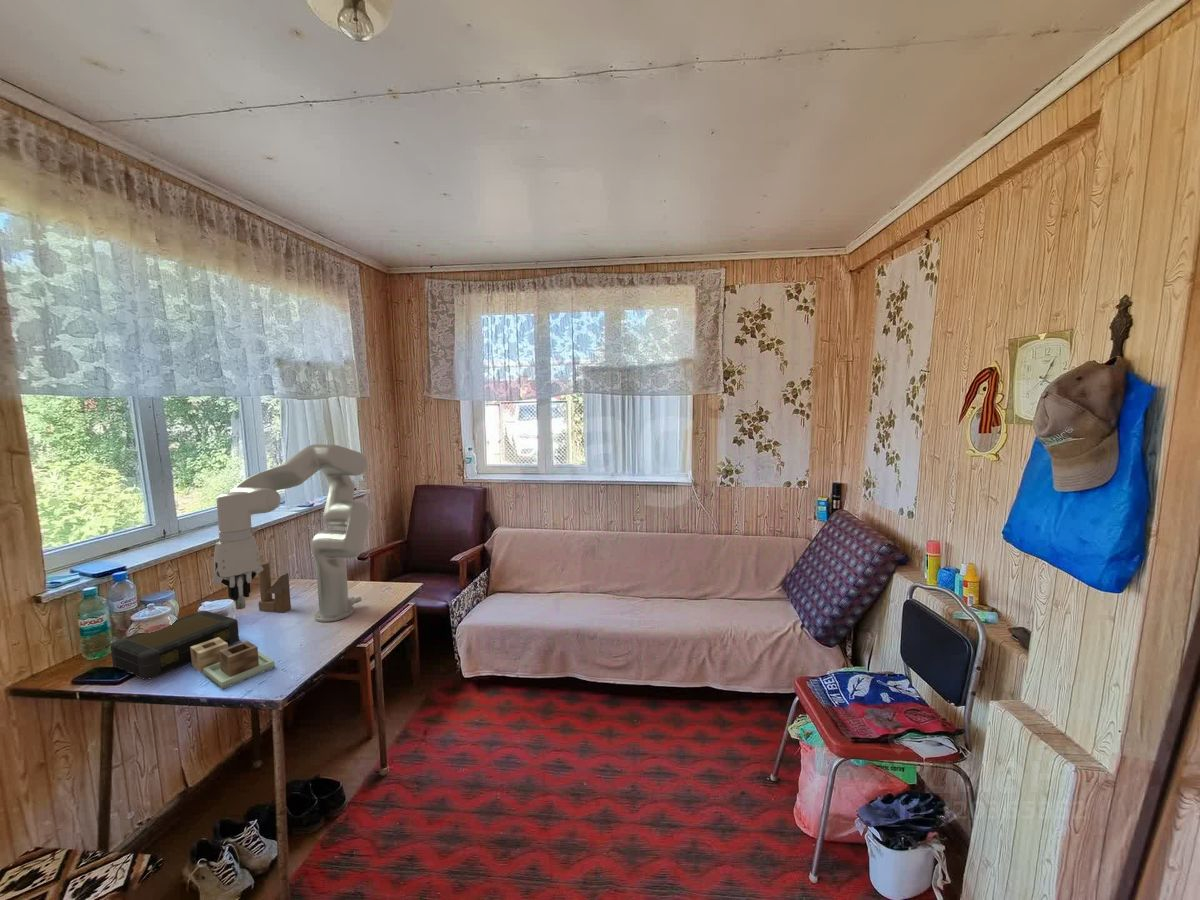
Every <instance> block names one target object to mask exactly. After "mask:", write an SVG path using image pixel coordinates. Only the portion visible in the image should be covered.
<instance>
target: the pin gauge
mask: <svg viewBox="0 0 1200 900" xmlns="http://www.w3.org/2000/svg"><path fill="white" fill-rule="evenodd" d="M234 577H235V586H236V587H237V591H238V600H236V601H235V609H236V610H243V609H246V597H245V591H244V575H243V574H241V575H237V576H234Z"/></svg>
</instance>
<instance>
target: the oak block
mask: <svg viewBox="0 0 1200 900" xmlns="http://www.w3.org/2000/svg"><path fill="white" fill-rule="evenodd" d="M228 647H229V646H228V643H227V642H225V641H224V640H222V639H221V638H219V637H218V638H215V639H212V640H209V641H206V642H203V643H200V644H197V645H194V646H191V647H190V651H191V661H192V662H191V667H193V668H194V669H195V670H197V671H198V672H199V673H201V674H202V673H203V668H205V667H208V666H210V665H213V664H216V663H218V662H220V657H219V650H222V649H225V648H228Z"/></svg>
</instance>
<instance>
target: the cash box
mask: <svg viewBox="0 0 1200 900" xmlns="http://www.w3.org/2000/svg"><path fill="white" fill-rule="evenodd" d="M175 620H176V621H175V622H174V623H173V624H172V625H170V626H168V627H166V628H163V629H161V630H158V631H155V632H151V633H139V632H136V633H134V634H132V635H128V636H126V637H121V638H119V639H117V640H115V641H113V642H111V643H110V653H111V660H112V662H111V663H112V666H116V667H120V668H123V669H126V670H129V671H131V672H133V673H134V674H136V675H137V676H139V677H141V678H140V679H142V678H144V679H143V680H150V679H149V678H151V679H154V678H157V677H158V675H159V676H161V675H163V674H166V673H168V672H170V671H172V670H176V669H177V668H180V667H182V666H185V665H187V664H189V663H192V661H191V651H190V647H191V646H194V645H197V644H200V643H203V642H206V641H209V640H212V639H215V638H218V637H219V638H221V639H222V640H224V641H225V642H227V643H228V647H230V646H232V645H235V643H236V644H237V643H238V642H239V641H240V636H239V635H240V634H239V624H238V619H236V618H233V617H229V616H226V615H222V614H218V613H215V612H211V611H209V610H199V611H196V612H194V613H191V614H188V615H186V616H182V617H179V618H176V619H175ZM137 676H136V677H137ZM156 676H157V677H156ZM139 677H138V678H139ZM153 677H154V678H153Z"/></svg>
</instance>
